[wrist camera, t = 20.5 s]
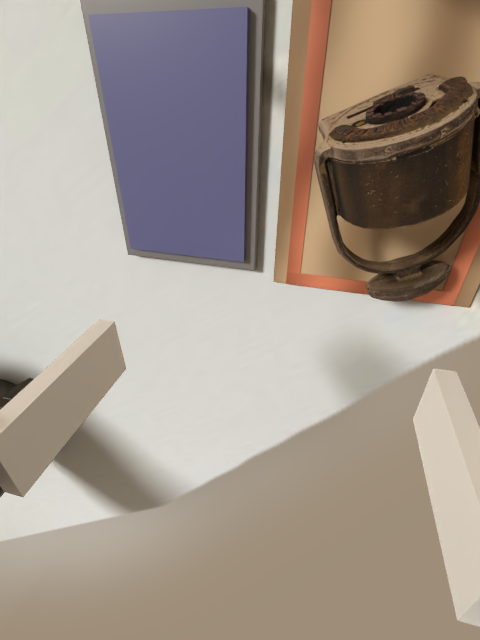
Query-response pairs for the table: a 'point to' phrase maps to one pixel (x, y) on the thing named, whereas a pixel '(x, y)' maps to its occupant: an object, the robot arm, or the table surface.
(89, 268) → the table surface
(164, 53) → the ink pad
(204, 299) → the table surface
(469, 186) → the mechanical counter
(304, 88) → the print sheet
